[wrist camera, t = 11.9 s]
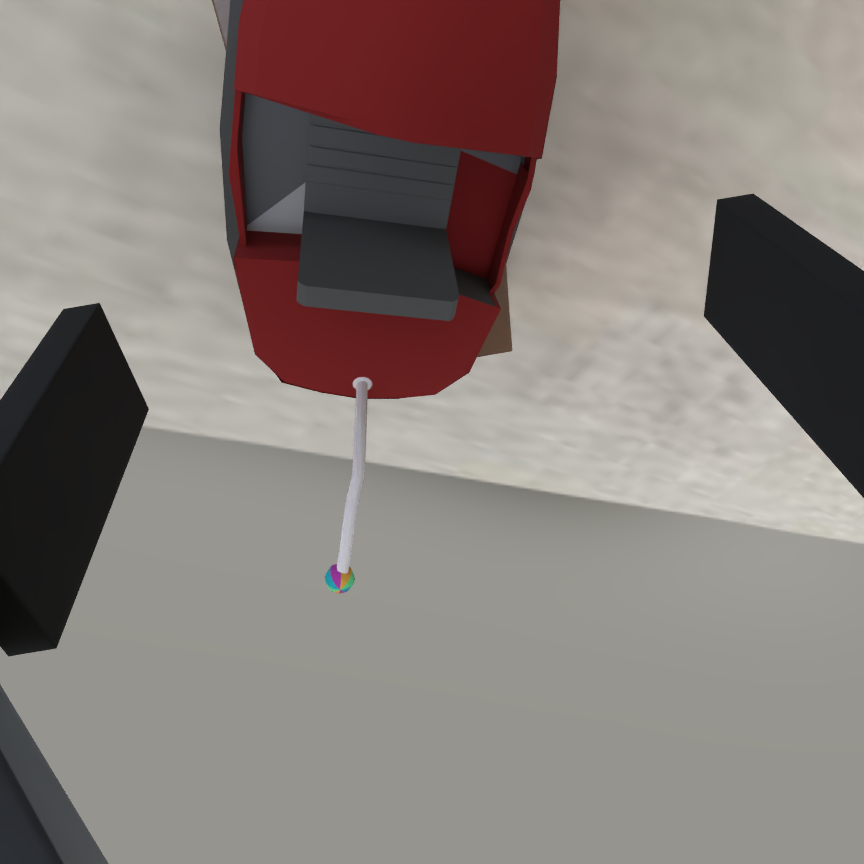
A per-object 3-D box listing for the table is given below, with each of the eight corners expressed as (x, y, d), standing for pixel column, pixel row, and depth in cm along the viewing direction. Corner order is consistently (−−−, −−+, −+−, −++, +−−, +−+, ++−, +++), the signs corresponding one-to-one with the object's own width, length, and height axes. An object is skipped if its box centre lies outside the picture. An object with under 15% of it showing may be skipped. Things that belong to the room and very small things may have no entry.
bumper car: (605, -184, 19) (806, -252, 11) (462, 420, 30) (508, 603, 22) (226, -280, 17) (132, -447, 9) (225, 402, 29) (184, 596, 20)
